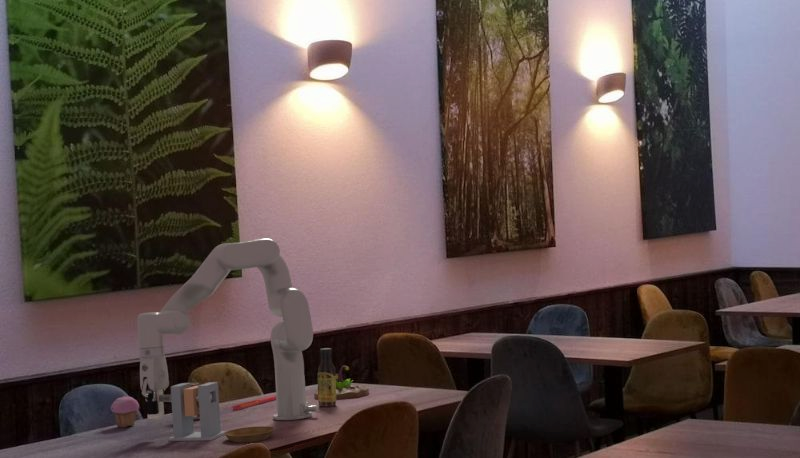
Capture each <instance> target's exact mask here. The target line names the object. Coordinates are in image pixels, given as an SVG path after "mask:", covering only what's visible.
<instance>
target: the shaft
mask: <svg viewBox="0 0 800 458" xmlns="http://www.w3.org/2000/svg"><path fill="white" fill-rule="evenodd" d="M149 391H152V390H151V389H149ZM151 395H152V393H151ZM210 396H211V401H212V400H213V394H210ZM196 400H197V401H199V395H198V394H197V395H196ZM155 401H157V411H158V413H157V414H151V415H148V414H147V413H146V414H147V420H161V419H163V418H165V410H164V409H165V408H164V407H165V406H164V405H165V404H164V403H172V399H171V394H164V395H163V389H162V390H158V391H156V400H155ZM183 401H184V394H183Z"/></svg>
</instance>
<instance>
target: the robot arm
mask: <svg viewBox="0 0 800 458" xmlns="http://www.w3.org/2000/svg"><path fill="white" fill-rule="evenodd" d="M280 254H281V250H280V245H279V244H278V242H276V241H275V240H273V239H271V238H256V239H255V238H254V239H251V240H248V241H241V242H239V241H238V242H228V243H221V244H218V245H217V246H215V247H214V248H213V249H212V250H211V252H210V253H209V254H208V255H207V257H206V258H205V259H204V260H203V262H202V264H200V266H199V267H198V268H197V270H196V271H195V272H194V273H193V275H191V277H190V278H189V279H188V280H187V281H186V282H184V284H183V285H182V286H181V287H180V288H179V289H178V290H177V291H176V292H175V293H174V294H173V295H171V297H170V298H169V299H168V301H167V302H166V303H165V305H164V306H163V307H162V308H161V310H160V311H159V312H158V311H157V312H156V311H153V312H152V311H151V312H143V313H142V312H141V313H139V314H138V316H137V339H138V348H139V349H138V351H139V360H140V361H139V384H140V385H139V386H140V390H141V395H142V396H143V397H144V398H145V402H146V414H148V415H151V414H157V413H158V411H157V401H155V400H156V391H158V390H162V389H163V395H165V394H164V393H165V391H166V389H167V388H169V386H170V380H169V370H168V369H169V368H168V363H167V359H166V356H165V339H164V338H165V337H164V335H181V334H183V333H185V332H187V330H188V329H189V328H190V326H191V319H190V316H189V314H188V313H189V312H190V311H191V310H192V309H193V308H194V307H195V306H196V305H198V304H200V303H201V302H203V301H205V300H206V299H209V297H211V296H212V295H214V294H215V293H216V290H217V289H218V288H219V287H220V286H221V284H222V283H223V282H224V280H225V279H226V278H227V276H228V275H229V274H230V273H231V271H236V270H238V271H239V270H246V269H253V268H257V269H258V270H259V271H260V273H261V275H262V277H263V282H264V285H265V286H264V287H265V291H266V292H265V293H266V297H267V303H268V308H269V311H270V313H271V314H272V315H274V316H276V317H279V318H282V320H281V321H279V322H277V323H276V324H275V325H273V327H272V328H271V331H270V344H271V349H272V354H273V362H274V364H273V365H274V378H275V379H274V381H275V394H276V395H275V396H276V410H277V411H276V412H277V413H274V414H273V415H272V419H273V420H275V421H296V420H302V419H308V418H311V417H312V416H313V415H312V414H313V412H314V413H316V412H317V413H318V411H319V407H318V406H319V405H310V402H309V401H307V394H306V380H305V379H306V378H305V362H304V356H303V355H304V354H303V351H305V350H307V349H308V348H309V347H310V346H311V345H312V342H313V341H314V339H313V338H314V330H313V323H312V322H313V321H312V317H311V311H310V306H309V302H308V301H309V300H308V299H307V297H306V296H307V295H305V293H303V291H301V290H300V289H297V288H294V287H293V285H292V279H291V275H290V271H289V268H288V265H287V263H286V261H285V259H284V258H283V256H282V255H280ZM149 389H151V390H152V391H149ZM151 393H152V395H151ZM148 415H147V416H148Z"/></svg>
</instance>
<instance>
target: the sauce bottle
mask: <svg viewBox="0 0 800 458" xmlns="http://www.w3.org/2000/svg"><path fill="white" fill-rule="evenodd" d="M319 353H320V363H319V365H318V370H317V390H318V400H317V402H318V406H319V407H321V408H329V407H334V406H336V404H337V400H336V376H335V373H336V366H334V364H333V361H332V360H333V359H332V353H333V349H332V348H331V347H324V348H320V349H319Z"/></svg>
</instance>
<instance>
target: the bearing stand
mask: <svg viewBox="0 0 800 458" xmlns="http://www.w3.org/2000/svg"><path fill="white" fill-rule="evenodd" d="M191 383H192V382H182V383H178V384H175V385H172V386H170V395H171V399H172V402H171V411H172V413H171V415H172V428H173V436H171V437H168V442H175V441H176V442H178V441H179V442H180V441H181V442H187V441H189V442H192V441H213V440H215V439H218V438H220V437H223V436H225V434H224V433H225V432H227V430H225V431H223V430H221V427H222V426H221V416H220V415H221V414H220V413H221V412H220V399H219V397H220V396H219V382H218V381H214V382H211V381H209V382H205V383H203V384H198V385H199V386H198V395H199V412H200V419H199V422H200V423H199V427H200V431H195V428H194V427H195V425H194V420H193V416H185V404H184V401H183V394H184V389H187V388H190V387H191ZM210 394H213V400H212V401H211V396H210Z"/></svg>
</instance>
